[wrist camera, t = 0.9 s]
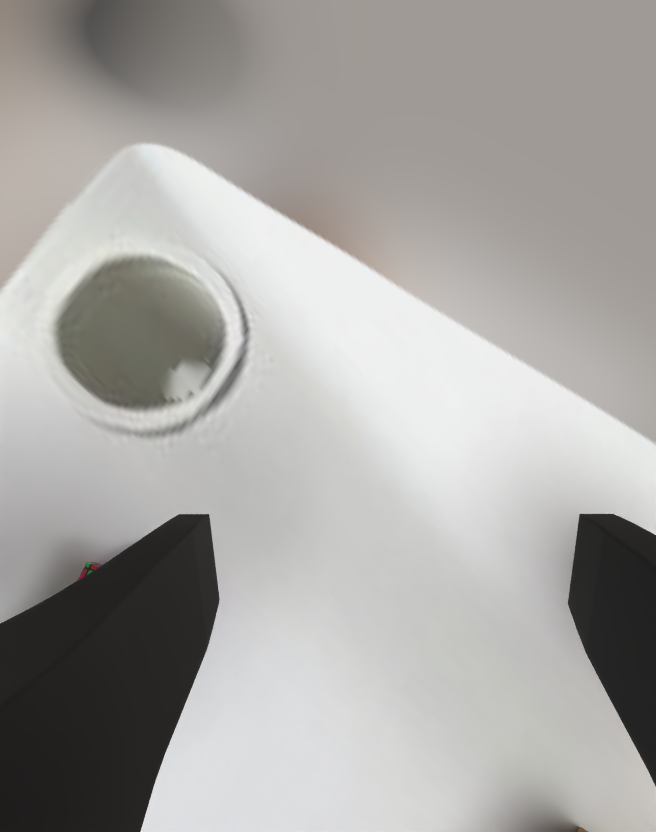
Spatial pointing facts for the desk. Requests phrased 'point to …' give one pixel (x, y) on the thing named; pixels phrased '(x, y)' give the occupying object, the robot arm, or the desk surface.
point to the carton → (581, 830)
